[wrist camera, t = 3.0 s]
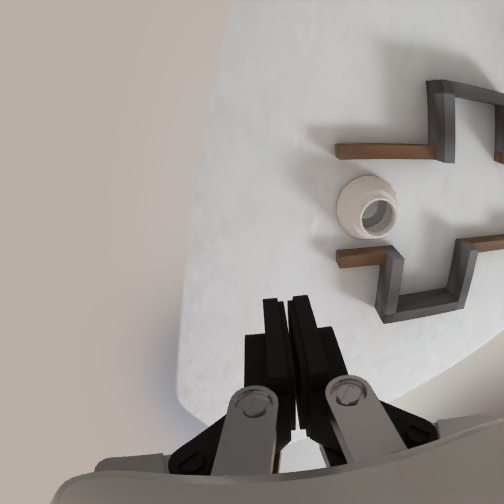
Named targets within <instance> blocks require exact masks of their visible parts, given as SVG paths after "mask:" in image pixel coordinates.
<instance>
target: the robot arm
mask: <svg viewBox="0 0 504 504" xmlns="http://www.w3.org/2000/svg"><path fill="white" fill-rule="evenodd" d="M263 309H264V323H265V334H253V335H245V367H244V388H242V389H240V390H239V391H237V392H236V393H235V394H234V395H233V396H232V398H231V400H230V402H229V406H228V410H227V414H226V415H225V416H223V417H222V418H221V419H219V420H218V421H217V422H215V423H214V424H213V425H211V426H210V427H209V428H207V429H206V430H205V431H203V432H202V433H200V434H199V435H198V436H196V437H195V438H194V439H192V440H190V441H189V442H188V443H186V444H185V445H183V446H182V447H180V448H179V449H178V450H176V451H175V452H174V453H173V454H172V455H165V456H164V455H163V453H159V454H150V455H140V456H128V457H112V458H106V459H104V460H102V461H100V462H99V463H98V464H97V466H96V467H95V470H94V472H92V473H88V474H82V475H79V476H76V477H73V478H71V479H69V480H67V481H65V482H64V483H63V484H62V485H61V486H60V488H59V489H58V490H57V492H56V493H55V495H54V497H53V499H52V501H51V503H50V504H504V419H499V420H497V419H496V418H495V417H493V416H492V415H490V414H476V415H470V416H464V417H457V418H449V419H440V420H437V421H436V423H431V422H429V421H427V420H425V419H423V418H421V417H418V416H416V415H413V414H411V413H408V412H406V411H403V410H401V409H399V408H396V407H394V406H392V405H390V404H387V403H385V402H383V401H380V400H379V399H378V398H377V396H376V394H375V393H374V391H373V389H372V387H371V386H370V385H369V383H368V382H367V381H366V380H364V379H363V378H361V377H358V376H355V375H348V372H347V369H346V366H345V363H344V360H343V357H342V354H341V351H340V348H339V346H338V343H337V340H336V337H335V334H334V331H333V329H332V327H331V326H330V327H322V328H317V325H316V322H315V318H314V315H313V311H312V308H311V305H310V301H309V298H308V295H302V296H293V300H291V301H288V325H289V332H288V326H287V320H286V314H285V308H284V303H283V301H280V302H278V300H277V298H271V299H263ZM296 404H297V411H298V418H299V425H300V429H306V434H307V437H310V439H312V440H314V441H316V442H317V443H319V447H320V451H321V453H322V456H323V459H324V462H325V464H326V467H327V468H321V469H315V470H307V471H299V472H290V473H279V469H280V462H281V450H282V449H283V448H284V447H285V446H286V445H287V444H288V443H289V442H290V441H291V430H295V429H296Z"/></svg>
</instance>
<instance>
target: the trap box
mask: <svg viewBox="0 0 504 504" xmlns="http://www.w3.org/2000/svg"><path fill="white" fill-rule="evenodd" d="M426 86H427V102H428V145H422V144H388V143H353V144H335V150H336V158H338V159H340V160H348V159H433V160H438V161H441V162H444V163H455V100H454V97H457V98H463V99H468V100H473V101H478V102H483V103H488V104H492V105H495V157H494V161H496V162H499V163H502V164H504V94H503V93H500V92H496V91H492V90H488V89H484V88H480V87H476V86H472V85H467V84H462V83H458V82H452V81H447V80H432V81H426ZM500 249H504V235H494V236H484V237H474V238H464V239H456V243H455V249H454V254H453V260H452V265H451V270H450V274H449V279H448V283H447V288H443V289H437V290H431V291H425V292H419V293H412V294H406V295H399V291H400V285H401V279H402V272H403V265H404V258H403V257H402V255H401V254H400V253H399V252H398V251H397V250H396V249H395V248H394V247H393V246H392V245H390V246H380V247H369V248H358V249H347V250H337V254H336V262H337V264H338V266H339V268H349V267H359V266H368V265H377V264H380V271H379V280H378V288H377V296H376V303H375V309H376V311H377V312H378V314H379V316H380V318H381V320H382V322H383V324H386V323H392V322H398V321H404V320H410V319H415V318H420V317H426V316H431V315H436V314H441V313H445V312H450V311H455V310H459V309H464V306H465V302H466V299H467V295H468V291H469V288H470V284H471V280H472V276H473V272H474V268H475V263H476V259H477V254H478V252H485V251H493V250H500Z"/></svg>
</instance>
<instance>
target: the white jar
mask: <svg viewBox="0 0 504 504" xmlns="http://www.w3.org/2000/svg"><path fill="white" fill-rule="evenodd" d="M377 200H384V201H387V206H386V212H385V214H384V216H383V218H382V219H381V220H380V221H379V222H378V223H377V224H376V225H374V226H371V227H369V228H364V227H363V225H362V218H364V219H367V218H370V217H372V216H373V215H375V213H376V212H377V210H378V201H377ZM337 216H338V219H339V222H340V225H341V226H342V227H343V228H344V229H345V230H346V232H347V233H348V234H349V235H351V236H354V237H356V238H358V239H376V238H381V237H384V236H386V235H388V234H389V233H390V232H391V231H392V230H393V229H394V227H395V225H396V223H397V219H398V201H397V197H396V193H395V191H394V190H393V188H392V187H391V186H390V184H389V183H388V182H386V181H384V180H382V179H381V178H379V177H377V176H362V177H359V178H357V179H354V180H352V181H351V182H350V183H349V184H348V185H347V186H346V187H345V188H343V190H342V192H341V194H340V196H339V199H338V201H337Z"/></svg>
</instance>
